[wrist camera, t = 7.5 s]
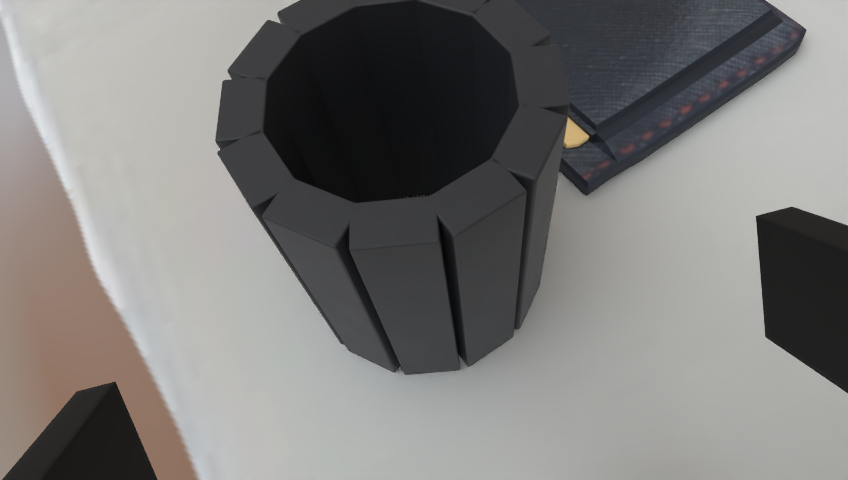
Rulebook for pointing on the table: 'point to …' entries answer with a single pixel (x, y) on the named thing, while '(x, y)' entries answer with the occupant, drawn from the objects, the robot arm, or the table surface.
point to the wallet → (653, 70)
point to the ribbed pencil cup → (403, 167)
